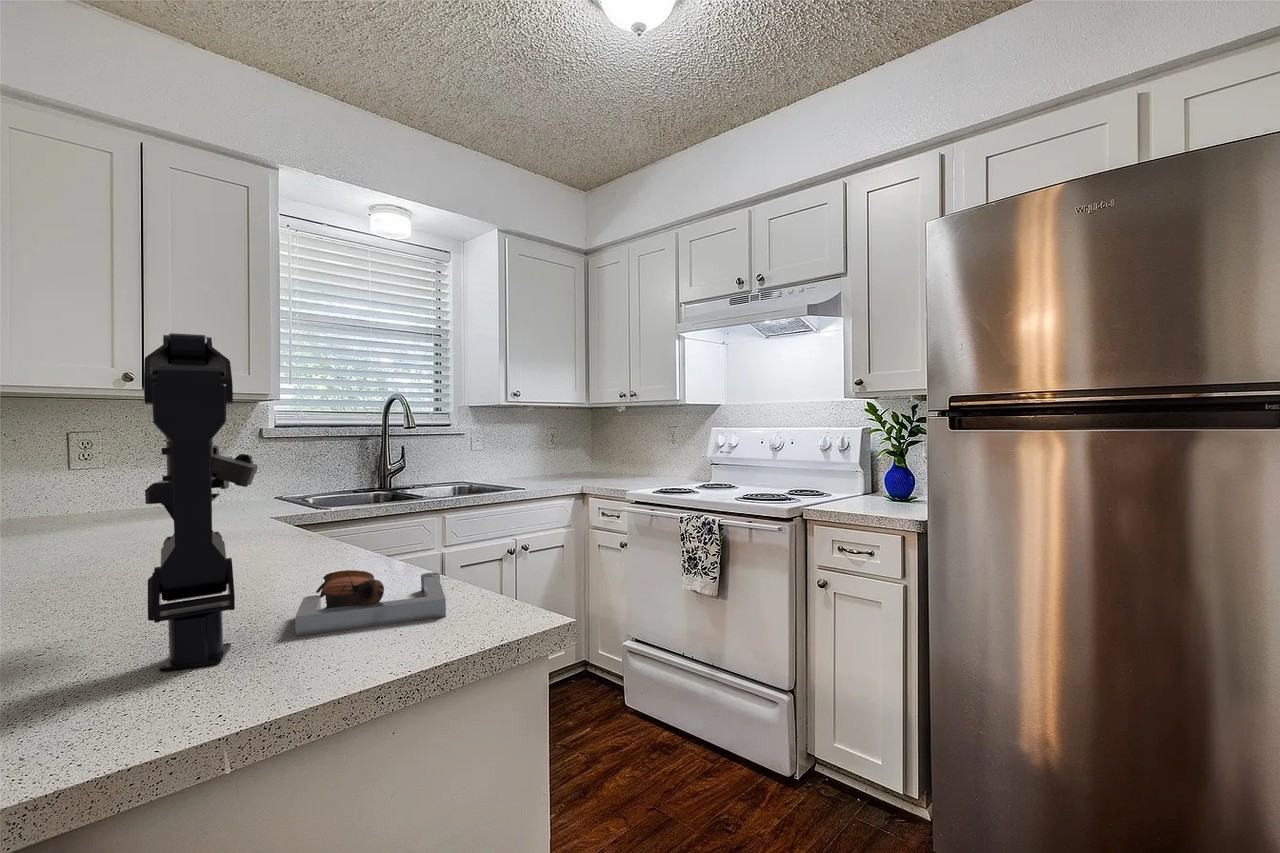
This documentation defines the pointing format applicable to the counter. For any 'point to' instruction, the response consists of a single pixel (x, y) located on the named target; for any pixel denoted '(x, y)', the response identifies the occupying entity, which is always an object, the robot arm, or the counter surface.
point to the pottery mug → (350, 588)
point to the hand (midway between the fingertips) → (192, 543)
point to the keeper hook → (372, 610)
